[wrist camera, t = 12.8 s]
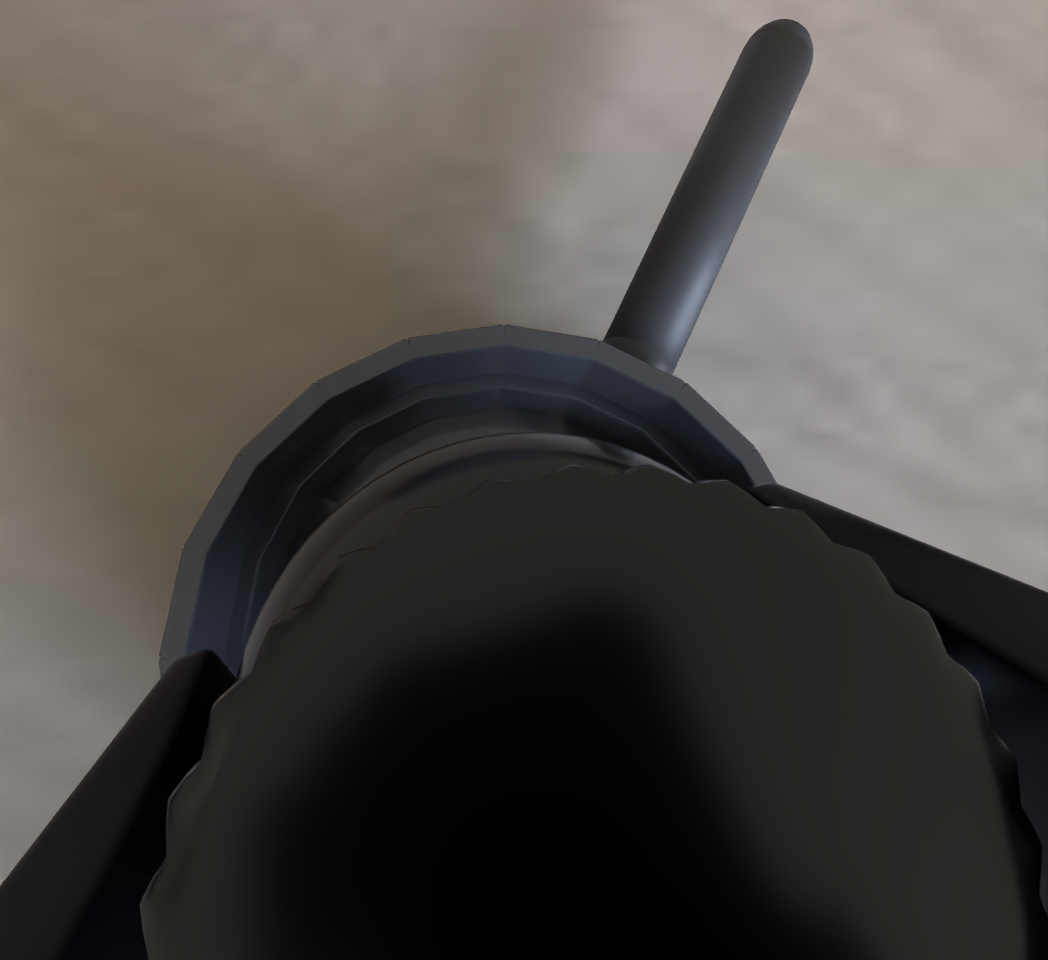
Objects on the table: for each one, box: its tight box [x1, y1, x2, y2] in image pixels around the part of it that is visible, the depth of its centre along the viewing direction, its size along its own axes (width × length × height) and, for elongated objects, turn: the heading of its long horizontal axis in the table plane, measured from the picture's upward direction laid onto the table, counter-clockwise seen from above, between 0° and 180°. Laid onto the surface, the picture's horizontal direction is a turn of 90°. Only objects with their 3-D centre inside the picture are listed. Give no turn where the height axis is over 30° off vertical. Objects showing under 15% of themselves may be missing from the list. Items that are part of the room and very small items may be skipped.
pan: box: [159, 325, 777, 677], centre depth 13 cm, size 13×13×4 cm
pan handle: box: [603, 19, 813, 375], centre depth 14 cm, size 11×2×2 cm, turn 154°
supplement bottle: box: [140, 432, 1048, 960], centre depth 9 cm, size 7×7×12 cm
